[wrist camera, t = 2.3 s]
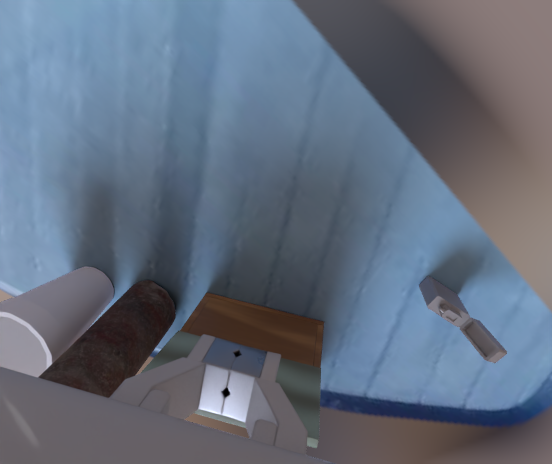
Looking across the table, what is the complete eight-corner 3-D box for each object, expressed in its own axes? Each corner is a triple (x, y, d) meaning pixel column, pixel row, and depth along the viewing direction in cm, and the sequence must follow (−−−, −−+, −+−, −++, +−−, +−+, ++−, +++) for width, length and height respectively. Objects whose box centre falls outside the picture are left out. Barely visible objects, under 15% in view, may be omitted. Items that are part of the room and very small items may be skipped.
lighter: (418, 286, 40) (435, 328, 33) (428, 275, 39) (448, 316, 32) (468, 318, 40) (496, 368, 33) (479, 308, 40) (510, 356, 32)
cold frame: (309, 376, 47) (303, 429, 40) (200, 347, 49) (174, 392, 41) (324, 321, 44) (320, 368, 36) (206, 292, 45) (179, 331, 38)
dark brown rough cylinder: (190, 301, 46) (91, 434, 28) (167, 335, 49) (63, 477, 31) (141, 269, 46) (8, 383, 28) (121, 305, 49) (-12, 431, 30)
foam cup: (81, 242, 46) (-11, 293, 34) (136, 287, 47) (66, 352, 35) (52, 285, 50) (-40, 345, 38) (104, 326, 51) (31, 397, 39)
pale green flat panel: (316, 448, 27) (318, 440, 26) (127, 394, 28) (128, 385, 28) (319, 374, 36) (321, 367, 36) (177, 336, 38) (178, 330, 37)
